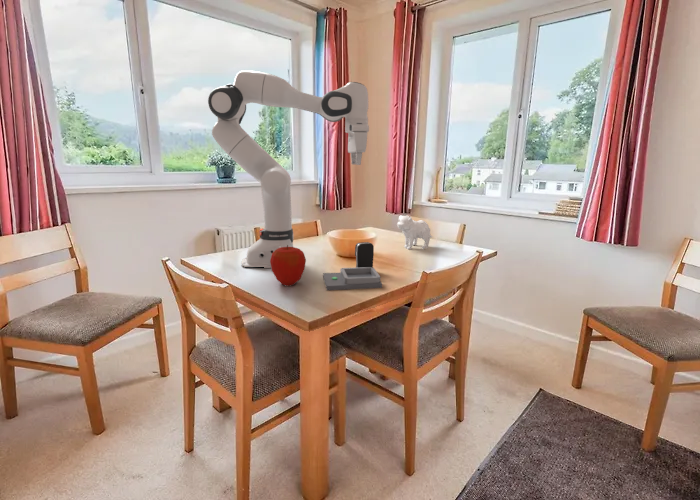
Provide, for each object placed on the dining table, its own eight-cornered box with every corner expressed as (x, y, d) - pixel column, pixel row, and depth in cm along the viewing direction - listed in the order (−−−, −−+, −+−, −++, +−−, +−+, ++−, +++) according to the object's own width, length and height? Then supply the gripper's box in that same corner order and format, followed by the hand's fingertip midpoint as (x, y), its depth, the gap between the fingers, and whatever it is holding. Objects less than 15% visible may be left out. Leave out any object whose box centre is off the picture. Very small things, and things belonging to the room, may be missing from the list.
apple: (312, 286, 125) (311, 246, 122) (279, 292, 119) (278, 250, 115) (297, 276, 135) (296, 239, 132) (266, 281, 129) (264, 243, 125)
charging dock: (326, 290, 121) (326, 280, 120) (323, 277, 135) (323, 268, 134) (382, 287, 124) (382, 278, 123) (373, 275, 138) (373, 266, 137)
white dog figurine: (424, 242, 193) (426, 211, 189) (439, 246, 185) (442, 213, 180) (388, 248, 179) (390, 215, 175) (403, 253, 170) (405, 218, 166)
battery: (369, 268, 146) (370, 240, 143) (373, 271, 143) (374, 242, 140) (353, 270, 143) (353, 242, 141) (357, 273, 140) (357, 244, 137)
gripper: (344, 129, 150) (344, 164, 153) (353, 125, 131) (352, 165, 134) (359, 130, 151) (358, 164, 155) (370, 126, 132) (369, 165, 135)
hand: (356, 164), depth 144 cm, fingers open, 8 cm apart
